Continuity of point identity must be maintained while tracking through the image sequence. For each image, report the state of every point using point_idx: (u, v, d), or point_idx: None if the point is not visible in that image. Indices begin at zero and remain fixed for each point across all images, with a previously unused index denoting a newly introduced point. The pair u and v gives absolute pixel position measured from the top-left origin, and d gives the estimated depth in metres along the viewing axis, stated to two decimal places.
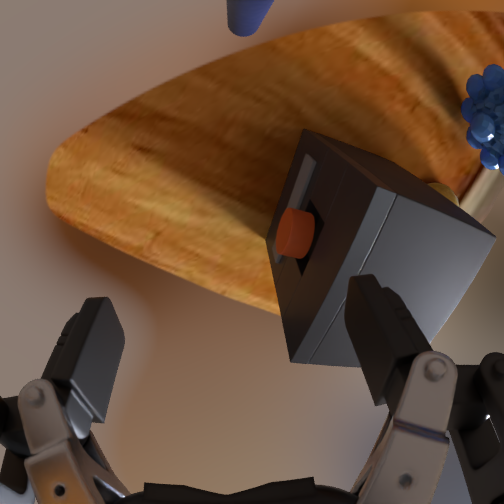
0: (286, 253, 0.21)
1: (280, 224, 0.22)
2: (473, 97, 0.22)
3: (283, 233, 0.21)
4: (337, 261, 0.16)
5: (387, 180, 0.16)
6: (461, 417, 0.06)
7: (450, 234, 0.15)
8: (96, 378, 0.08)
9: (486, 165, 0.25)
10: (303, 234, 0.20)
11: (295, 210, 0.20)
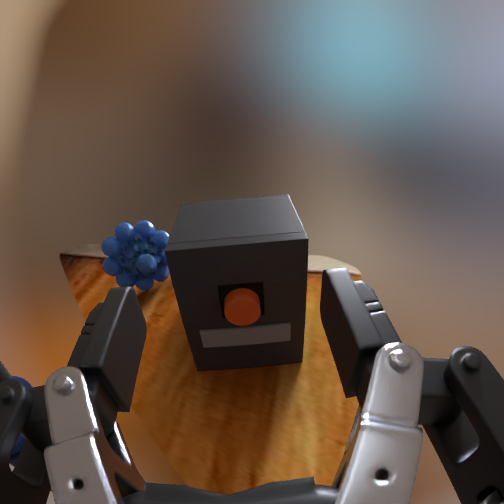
0: (252, 299, 0.27)
1: (244, 322, 0.28)
2: (133, 279, 0.45)
3: (243, 311, 0.28)
4: (218, 251, 0.26)
5: None
6: (431, 411, 0.06)
7: (184, 219, 0.31)
8: (122, 366, 0.08)
9: None
10: (233, 295, 0.28)
11: None
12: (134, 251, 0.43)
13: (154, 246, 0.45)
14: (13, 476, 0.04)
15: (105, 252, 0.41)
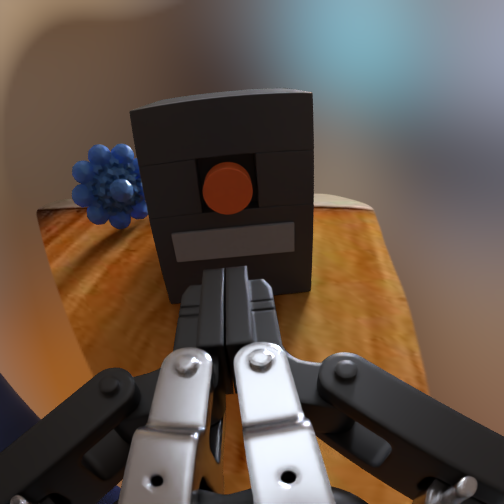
0: (241, 170, 0.20)
1: (230, 208, 0.21)
2: (105, 212, 0.37)
3: (229, 189, 0.20)
4: (197, 107, 0.19)
5: None
6: (306, 418, 0.07)
7: (161, 101, 0.23)
8: None
9: None
10: (215, 168, 0.20)
11: (203, 193, 0.20)
12: (108, 176, 0.35)
13: (132, 174, 0.38)
14: (81, 468, 0.05)
15: (75, 176, 0.33)
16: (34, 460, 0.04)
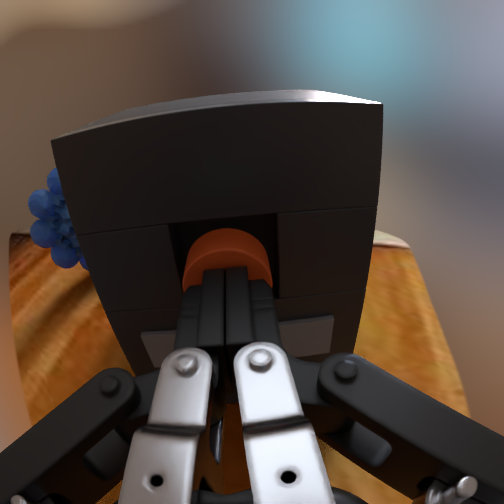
0: (252, 250, 0.11)
1: None
2: (73, 254, 0.28)
3: None
4: (166, 129, 0.10)
5: None
6: (306, 418, 0.07)
7: (121, 113, 0.14)
8: None
9: None
10: (203, 242, 0.11)
11: None
12: None
13: None
14: (81, 468, 0.05)
15: (32, 210, 0.24)
16: (34, 460, 0.04)
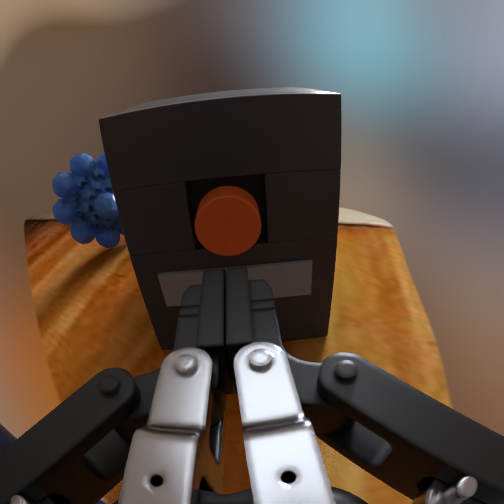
0: (246, 199, 0.15)
1: (232, 248, 0.16)
2: (91, 230, 0.32)
3: (230, 224, 0.15)
4: (186, 113, 0.14)
5: None
6: (306, 418, 0.07)
7: (145, 104, 0.18)
8: None
9: None
10: (210, 194, 0.15)
11: None
12: (92, 189, 0.30)
13: None
14: (81, 468, 0.05)
15: (56, 190, 0.28)
16: (34, 460, 0.04)
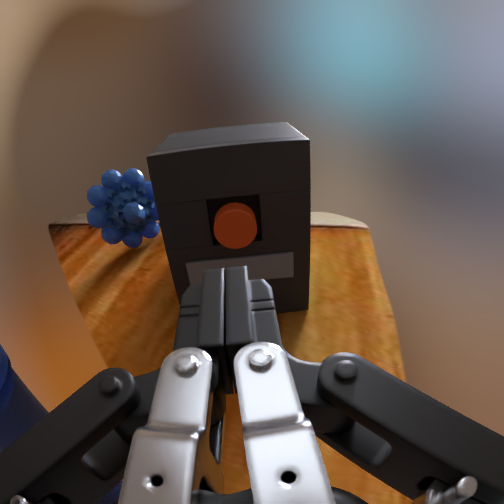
0: (247, 211, 0.23)
1: (238, 243, 0.24)
2: (119, 233, 0.40)
3: (236, 228, 0.23)
4: (207, 155, 0.22)
5: None
6: (306, 417, 0.07)
7: (172, 140, 0.27)
8: None
9: None
10: (224, 208, 0.23)
11: (214, 230, 0.24)
12: (121, 199, 0.38)
13: (143, 197, 0.41)
14: (81, 468, 0.05)
15: (90, 200, 0.36)
16: (34, 460, 0.04)
